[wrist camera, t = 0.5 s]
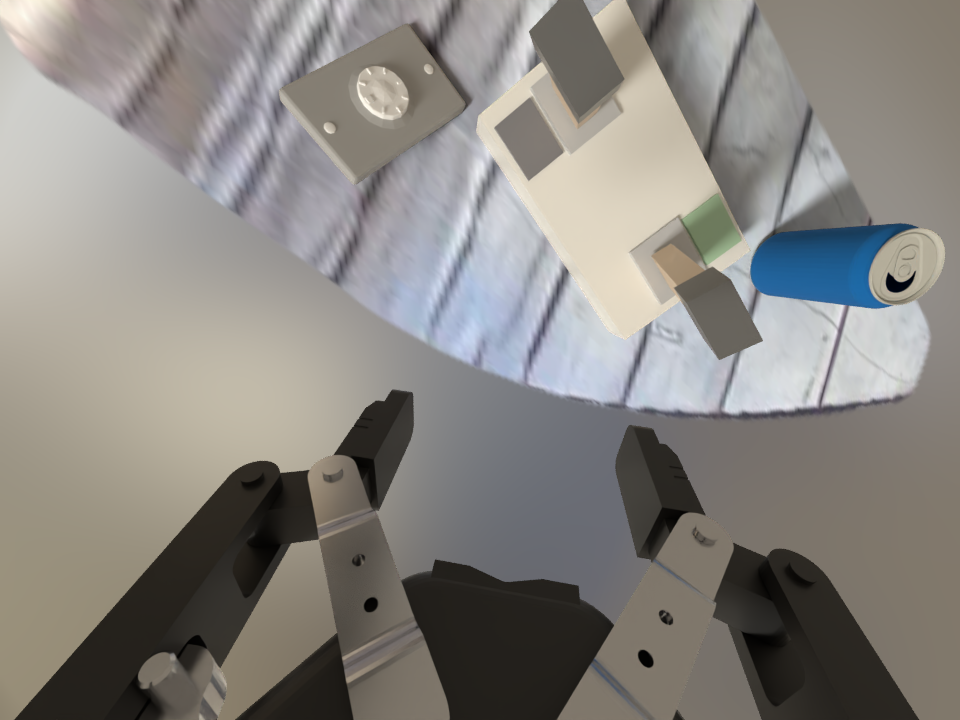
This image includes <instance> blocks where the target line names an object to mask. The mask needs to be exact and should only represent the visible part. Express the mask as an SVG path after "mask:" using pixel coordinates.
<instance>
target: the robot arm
mask: <svg viewBox="0 0 960 720" xmlns="http://www.w3.org/2000/svg"><path fill="white" fill-rule="evenodd" d="M413 426H414V414H413V393H412V392H407V391H400V390H392V391H391V392H390V394H389V395H388V397H387V398H386V400H385V402H384V401H375V402H374V403H372V404H371V405H370V406H368V407H366V408H365V410H364V411H363V413H362V414H361V416H360V417H359V419H358V420H357V421H356V423H355V425H354V427H352V429H351V430H350V432H349V433H348V435H347V436H346V438H345V439H344V440H343V442H342V443H341V445H340V446H339V448H338V449H337V451H336V452H335V454H334V455H332V456H328V457H325V458H323V459H321V460H320V461H318V462H316V463H315V464H314V465H313V466H312V467H311V469H310V470H306V471H297V472H287V473H280V471H279V468H278V466H277V465H276V464H274V463H272V462H268V461H257V462H252V463H249V464H246V465H244V466H242V467H240V468H238V469H237V470H235V471H234V472H233V473H232V474H231V475H230V476H229V477H228V478H227V479H226V480H225V482H224V483H223V484H222V485H221V486H220V487H219V488H218V489H217V491H216V492H215V493H214V494H213V495H212V496H211V497H210V498H209V500H208V501H207V502H206V503H205V504H204V505H203V506H202V508H201V509H200V510H199V511H198V512H197V514H196V515H194V517H193V518H192V519H191V520H190V521H189V522H188V523H187V525H186V526H185V527H184V528H183V529H182V530H181V531H180V533H179V534H178V535H177V536H176V537H175V538H174V539H173V540H172V542H171V543H170V544H169V545H168V546H167V547H166V548H165V549H164V551H163V552H162V553H161V554H160V555H159V556H158V558H157V559H156V560H155V561H154V562H153V563H152V564H151V565H150V566H149V568H148V569H147V570H146V571H145V572H144V573H143V575H142V576H141V577H140V578H139V579H138V580H137V581H136V582H135V584H134V585H133V586H132V587H131V588H130V589H129V590H128V591H127V593H126V594H125V595H124V596H123V597H122V598H121V599H120V601H119V602H118V603H117V604H116V605H115V606H114V607H113V609H112V610H111V611H110V612H109V613H108V614H107V615H106V616H105V618H104V619H103V620H102V621H101V622H100V623H99V625H97V627H96V628H95V629H94V630H93V631H92V632H91V633H90V634H89V636H88V637H87V638H86V639H85V640H84V641H83V643H82V644H81V645H80V646H79V647H78V648H77V649H76V650H75V651H74V653H73V654H72V655H71V656H70V657H69V658H68V659H67V661H66V662H65V663H64V664H63V665H62V666H61V667H60V669H59V670H58V671H57V672H56V673H55V674H54V675H53V676H52V678H51V679H50V680H49V681H48V682H47V683H46V684H45V686H44V687H43V688H42V689H41V690H40V691H39V692H38V694H37V695H36V696H35V697H34V698H33V699H32V700H31V702H30V703H29V704H28V705H27V706H26V707H25V708H24V709H23V711H22V712H21V713H20V714H19V715H18V716H17V717H16V719H15V720H217V718H218V715H219V713H220V710H221V708H222V705H223V703H224V700H225V696H226V690H227V684H226V679H225V677H224V674H223V673H222V671H221V670H220V668H221V666H222V664H223V662H224V660H225V659H226V657H227V655H228V653H229V651H230V650H231V648H232V646H233V645H234V643H235V641H236V639H237V638H238V636H239V634H240V632H241V630H242V629H243V627H244V625H245V623H246V622H247V620H248V618H249V616H250V615H251V613H252V611H253V609H254V608H255V606H256V604H257V602H258V601H259V599H260V597H261V595H262V593H263V592H264V590H265V588H266V587H267V585H268V583H269V581H270V580H271V578H272V576H273V574H274V573H275V571H276V569H277V567H278V565H279V564H280V562H281V560H282V558H283V557H284V555H285V553H286V551H287V550H288V548H289V546H290V544H291V543H296V542H303V541H311V540H318V539H319V541H320V546H321V552H322V557H323V562H324V567H325V572H326V577H327V582H328V588H329V593H330V598H331V603H332V608H333V613H334V618H335V623H336V629H337V633H336V634H335V635H334V636H333V637H331V638H330V639H329V640H328V641H327V642H326V643H325V644H323V645H322V646H321V647H320V648H319V649H317V650H316V651H315V652H314V653H313V654H312V655H310V656H309V657H308V658H307V659H306V660H305V661H304V662H302V663H301V664H300V665H299V666H298V667H296V668H295V669H294V670H293V671H292V672H291V673H289V674H288V675H287V676H286V677H285V678H283V679H282V680H281V681H280V682H279V683H277V684H276V685H275V686H274V687H273V688H272V689H270V690H269V691H268V692H267V693H266V694H265V695H264V696H262V697H261V698H260V699H259V700H258V701H256V702H255V703H254V704H253V705H252V706H250V707H249V708H248V709H247V710H246V711H245V712H244V713H242V714H241V715H240V716H239V717H238V718H237V719H236V720H684V718H683V717H682V716H681V714H680V713H679V712H678V710H677V707H678V704H679V702H680V699H681V697H682V694H683V691H684V688H685V686H686V684H687V681H688V678H689V676H690V673H691V671H692V668H693V665H694V663H695V660H696V658H697V655H698V652H699V650H700V647H701V645H702V642H703V639H704V637H705V634H706V632H707V629H708V626H709V624H710V621H711V618H712V617H714V618H716V619H718V620H720V621H722V622H724V623H726V624H728V627H729V630H730V632H731V635H732V638H733V641H734V644H735V646H736V649H737V652H738V655H739V658H740V660H741V663H742V666H743V669H744V672H745V674H746V677H747V680H748V682H749V685H750V688H751V691H752V694H753V697H754V699H755V702H756V705H757V708H758V711H759V713H760V716H761V719H762V720H919V719H918V717H917V716H916V714H915V713H914V711H913V710H912V708H911V706H910V705H909V703H908V702H907V700H906V699H905V697H904V696H903V694H902V692H901V691H900V689H899V688H898V686H897V685H896V683H895V681H894V680H893V679H892V677H891V675H890V674H889V672H888V671H887V669H886V667H885V666H884V664H883V663H882V661H881V660H880V658H879V656H878V655H877V653H876V652H875V650H874V649H873V647H872V646H871V644H870V643H869V641H868V639H867V638H866V636H865V635H864V633H863V631H862V630H861V628H860V627H859V625H858V624H857V622H856V621H855V619H854V617H853V616H852V614H851V613H850V611H849V610H848V608H847V606H846V605H845V603H844V602H843V600H842V599H841V597H840V596H839V594H838V592H837V591H836V589H835V588H834V586H833V585H832V583H831V581H830V580H829V579H828V577H827V576H826V575H825V574H824V572H823V571H822V570H820V568H819V567H817V566H816V565H815V564H814V563H813V562H811V561H810V560H808V559H807V558H805V557H803V556H802V555H800V554H798V553H795V552H793V551H790V550H786V549H774V550H772V551H771V552H770V554H769V555H768V556H767V557H765V556H763V555H760V554H758V553H756V552H753V551H751V550H748V549H746V548H744V547H741V546H739V545H737V544H735V543H733V542H732V539H731V538H730V536H729V534H728V533H727V532H726V530H725V529H724V528H723V527H722V526H721V525H719V524H718V523H717V522H715V521H714V520H712V519H711V518H709V517H707V516H706V515H705V513H704V511H703V509H702V507H701V505H700V502H699V500H698V498H697V496H696V494H695V492H694V490H693V488H692V486H691V483H690V481H689V480H688V477H687V475H686V473H685V471H684V470H683V467H682V464H681V463H680V460H679V458H678V456H677V455H676V454H675V453H674V452H673V451H672V450H671V449H670V448H669V447H668V446H667V445H665V444H659V441H658V439H657V437H656V434H655V432H654V430H653V429H652V428H648V427H641V426H633V425H629V426H628V428H627V430H626V433H625V435H624V438H623V441H622V444H621V446H620V449H619V452H618V454H617V458H616V475H617V479H618V483H619V486H620V490H621V495H622V498H623V502H624V506H625V510H626V514H627V518H628V522H629V526H630V529H631V534H632V538H633V542H634V546H635V550H636V553H637V557H640V558H646V559H651V562H652V564H651V565H650V567H649V569H648V570H647V572H646V574H645V576H644V577H643V579H642V580H641V582H640V584H639V585H638V587H637V589H636V590H635V592H634V594H633V596H632V597H631V599H630V600H629V602H628V604H627V605H626V607H625V609H624V610H623V612H622V614H621V615H620V617H619V619H618V620H617V622H616V623H615V625H614V624H613V623H612V622H611V621H610V620H609V619H608V618H607V617H606V616H605V615H604V614H602V613H601V612H600V611H598V610H597V609H596V608H595V607H593V606H592V605H590V604H588V603H587V602H585V601H583V600H581V599H580V597H579V587H578V586H577V585H571V584H566V583H560V582H555V581H549V580H544V579H541V580H528V581H517V582H503V581H501V580H499V579H496V578H494V577H492V576H490V575H488V574H486V573H483V572H481V571H479V570H477V569H475V568H473V567H471V566H467V565H462V564H457V563H451V562H446V561H440V560H435V562H434V566H433V570H432V571H427V572H422V573H418V574H415V575H412V576H409V577H407V578H405V579H403V580H401V579H400V577H399V574H398V571H397V568H396V565H395V562H394V560H393V557H392V554H391V551H390V549H389V546H388V543H387V540H386V537H385V535H384V532H383V529H382V526H381V523H380V521H379V518H378V515H377V513H376V511H375V510H378V511H379V509H380V507H381V505H382V502H383V500H384V498H385V496H386V494H387V491H388V489H389V487H390V484H391V482H392V480H393V478H394V476H395V473H396V471H397V469H398V467H399V464H400V462H401V460H402V457H403V455H404V453H405V451H406V449H407V447H408V444H409V442H410V440H411V436H412V433H413Z"/></svg>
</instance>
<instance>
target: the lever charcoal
mask: <svg viewBox="0 0 960 720" xmlns="http://www.w3.org/2000/svg"><path fill="white" fill-rule="evenodd" d="M529 33H530V36H531V39H532V42H533V45H534V48H535V50H536V52H537V54H538V55H539V57H540V59H541V61H542V62H543V64H544V66H545V67H546V69H547V71H548V73H549V75H550V79H551V83H552V87H553V89H554V91H555V92H556V94H557V96H558V98H559V99H560V101H561V103H562V104H563V106H564V108H565V110H566V111H567V113H568V115H569V116H570V118H571V120H572V122H573V123H574V125H575V127H576V128H577V129H578V128H580V127H581V126H582V125H583V124H584V123H586V122H587V121H588V120H589V119H590V118H591V117H593V116H594V115H595V114H596V113H597V112H598V110H599V108H600V106H601V104H603V103H604V102H605V101H606V100H607V99H608V98H610V97H611V96H612V95H613V94H614V93H616V92H617V91H618V89H619V88H620V86H621V84H622V83H623V81H624V77H623V75H622V73H621V71H620V69H619V68H618V66H617V64H616V62H615V60H614V58H613V56H612V54H611V52H610V50H609V49H608V47H607V45H606V43H605V41H604V39H603V37H602V35H601V33H600V32H599V30H598V28H597V26H596V24H595V22H594V20H593V18H592V16H591V15H590V13H589V11H588V9H587V7H586V5H585V3H584V1H583V0H558V2H557V3H556V4H555V5H554V6H553V7H552V8H551V9H550V10H549V11H548V12H547V13H546V14H545V15H544V16H543V17H542V18H541V19H540V21H539V22H538V23H537V24H536V25H535V26H534V27H533V28H532V29H531V30H530V31H529Z"/></svg>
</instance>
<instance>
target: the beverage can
mask: <svg viewBox="0 0 960 720" xmlns="http://www.w3.org/2000/svg"><path fill="white" fill-rule="evenodd" d="M944 261H945V248H944V244H943V242H942V240H941V238H940V237H939V235H937V234H936V233H935V232H933V231H931V230H929V229H925V228H918V227H916V226H913V225H909V224H886V225H872V226H859V227H845V228H832V229H818V230H805V231H791V232H782V233H778V234H776V235H773V236H771V237H770V238H768V239H767V240H766V241H764V242H763V243H762V244H761V245H760V247H759V248H758V249H757V251H756V252H755V254H754V256H753V259H752V262H751V266H750V276H751V280H752V283H753V285H754V286H755V288H756V289H757V290H758V291H760V292H761V293H763V294H766V295H770V296H778V297H786V298H794V299H802V300H810V301H817V302H825V303H833V304H841V305H849V306H857V307H865V308H885V307H889V306H893V305H903V304H907V303H910V302H912V301H914V300H916V299H918V298H919V297H921V296H922V295H923V294H925V293H926V292H927V291H928V290H929V289H930V288H931V287H932V286H933V284H934V283H935V282H936V280H937V279H938V277H939V275H940V273H941V271H942V268H943V265H944Z"/></svg>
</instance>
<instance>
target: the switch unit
mask: <svg viewBox="0 0 960 720" xmlns="http://www.w3.org/2000/svg"><path fill="white" fill-rule="evenodd" d="M593 20H594V22H595V24H596V26H597V28H598V30H599V32H600V33H601V35H602V37H603V39H604V41H605V43H606V45H607V47H608V49H609V50H610V52H611V54H612V56H613V58H614V60H615V62H616V64H617V66H618V68H619V69H620V71H621V73H622V75H623V77H624V81H623V83H622V84H621V86H620V88H619V89H618V91H617V92H616V93H614V94H613V95H612V96H611V97H610V98H608V99H607V100H606V101H605V102H604V103H603V104H601V106H600V108H599V110H598V112H597V113H596V114H595V115H594V116H593V117H591V118H590V119H589V120H588V121H587V122H586V123H584V124H583V125H582V126H581V127H580V128H578V129H577V128H576V127H575V125H574V123H573V122H572V120H571V118H570V116H569V115H568V113H567V111H566V110H565V108H564V106H563V104H562V103H561V101H560V99H559V98H558V96H557V94H556V92H555V91H554V89H553V87H552V83H551V79H550V75H549V73H548V71H547V69H546V67H545V66H544V64H543V62H541V63H539V64H538V65H537V66H536V67H535V68H534V69H532V70H531V71H530V72H529V73H528V74H527V75H525V76H524V77H523V78H522V79H521V80H520V81H518V82H517V83H516V84H515V85H514V86H513V87H511V88H510V89H509V90H508V91H507V92H506V93H504V94H503V95H502V96H501V97H500V98H499V99H497V100H496V101H495V102H494V103H493V104H492V105H490V106H489V107H488V108H487V109H486V110H485V111H483V112H482V113H481V114H480V115H479V116H478V123H477V130H476V132H477V134H478V135H479V137H480V138H481V140H482V141H483V143H484V144H485V146H486V147H487V149H488V150H489V152H490V153H491V155H492V156H493V158H494V159H495V161H496V162H497V164H498V165H499V167H500V168H501V170H502V171H503V173H504V174H505V176H506V177H507V179H508V180H509V182H510V183H511V185H512V186H513V188H514V189H515V191H516V192H517V194H518V195H519V197H520V198H521V200H522V201H523V203H524V205H525V206H526V208H527V209H528V211H529V212H530V214H531V215H532V217H533V218H534V220H535V221H536V223H537V224H538V226H539V227H540V229H541V230H542V232H543V233H544V235H545V236H546V238H547V239H548V241H549V242H550V244H551V245H552V247H553V248H554V250H555V251H556V253H557V254H558V256H559V257H560V259H561V260H562V262H563V263H564V265H565V266H566V268H567V269H568V271H569V272H570V274H571V275H572V277H573V278H574V280H575V281H576V283H577V284H578V286H579V287H580V289H581V290H582V292H583V293H584V295H585V296H586V298H587V299H588V301H589V302H590V304H591V305H592V307H593V308H594V310H595V311H596V313H597V314H598V316H599V317H600V319H601V320H602V322H603V323H604V325H605V327H606V328H607V330H608V331H609V332H610V333H612V334H614V335H616V336H618V337H620V338H622V339H624V340H626V339H627V338H629V337H630V336H631V335H633V334H634V333H636V332H637V331H638V330H640V329H641V328H643V327H644V326H646V325H647V324H648V323H650V322H651V321H653V320H654V319H655V318H657V317H658V316H660V315H661V314H662V313H664V312H665V311H667V310H668V309H669V308H671V307H672V306H674V305H675V304H676V303H678V302H679V301H680V300H679V299H678V297H677V296H676V295H675V294H674V292H673V291H672V290H671V289H670V287H669V285H668V284H667V282H666V280H665V279H664V277H663V275H662V274H661V272H660V270H659V268H658V267H657V265H656V263H655V262H654V260H653V258H652V256H651V255H653V254H655V253H656V252H658V251H659V250H661V249H663V248H664V247H666V246H668V245H669V244H672V245H674V246H675V247H676V248H677V249H679V250H680V251H681V252H682V253H684V254H685V255H686V256H688V257H689V258H690V259H691V260H693V261H694V262H695V263H696V264H698V265H699V266H700V267H701V268H703V269H704V270H707V269H709V268H711V267H712V266H713V267H714V268H715V269H717V270H718V271H719V272H721V271H723V270H724V269H726V268H727V267H728V266H730V265H731V264H733V263H734V262H735V261H737V260H738V259H740V258H741V257H742V256H744V255H745V254H747V253H748V252H750V251H751V250H750V248H749V246H748V244H747V242H746V240H745V238H744V236H743V234H742V232H741V230H740V228H739V226H738V224H737V222H736V220H735V218H734V216H733V214H732V212H731V210H730V208H729V206H728V204H727V202H726V200H725V198H724V196H723V194H722V192H721V190H720V188H719V186H718V184H717V182H716V180H715V178H714V176H713V174H712V172H711V170H710V168H709V166H708V164H707V162H706V160H705V158H704V156H703V154H702V152H701V150H700V148H699V146H698V144H697V142H696V140H695V138H694V136H693V134H692V132H691V130H690V128H689V126H688V124H687V122H686V120H685V118H684V116H683V114H682V112H681V110H680V108H679V106H678V104H677V102H676V100H675V98H674V96H673V94H672V92H671V90H670V88H669V86H668V84H667V82H666V80H665V78H664V76H663V74H662V72H661V70H660V68H659V66H658V64H657V62H656V60H655V58H654V56H653V54H652V52H651V50H650V48H649V46H648V44H647V42H646V40H645V38H644V36H643V34H642V32H641V30H640V28H639V26H638V24H637V22H636V20H635V18H634V16H633V14H632V12H631V10H630V8H629V6H628V4H627V2H626V0H613V1H612V2H611V3H610V4H608V5H607V6H606V7H605V8H604V9H603V10H601V11H600V12H599V13H598V14H597V15H596V16H594V17H593Z"/></svg>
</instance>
